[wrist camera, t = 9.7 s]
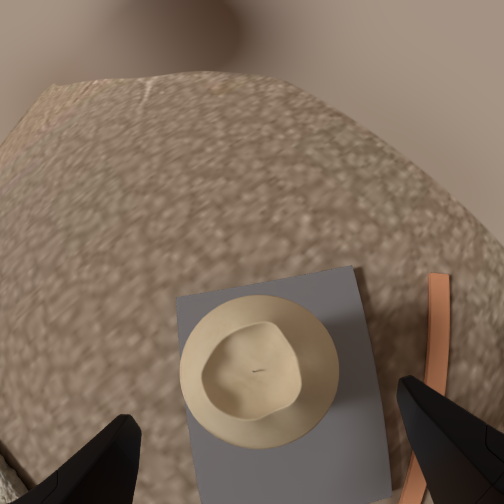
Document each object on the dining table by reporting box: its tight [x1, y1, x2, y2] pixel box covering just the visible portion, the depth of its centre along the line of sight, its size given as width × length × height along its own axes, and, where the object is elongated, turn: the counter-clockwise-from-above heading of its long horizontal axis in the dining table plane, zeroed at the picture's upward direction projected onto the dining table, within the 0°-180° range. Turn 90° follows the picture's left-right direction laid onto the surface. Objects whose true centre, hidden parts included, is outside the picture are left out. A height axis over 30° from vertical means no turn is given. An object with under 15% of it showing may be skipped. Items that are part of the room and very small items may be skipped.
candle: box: [180, 295, 339, 449], centre depth 13 cm, size 6×6×10 cm
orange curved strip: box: [398, 273, 450, 504], centre depth 15 cm, size 18×2×1 cm, turn 170°
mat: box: [176, 265, 392, 504], centre depth 17 cm, size 16×12×1 cm
